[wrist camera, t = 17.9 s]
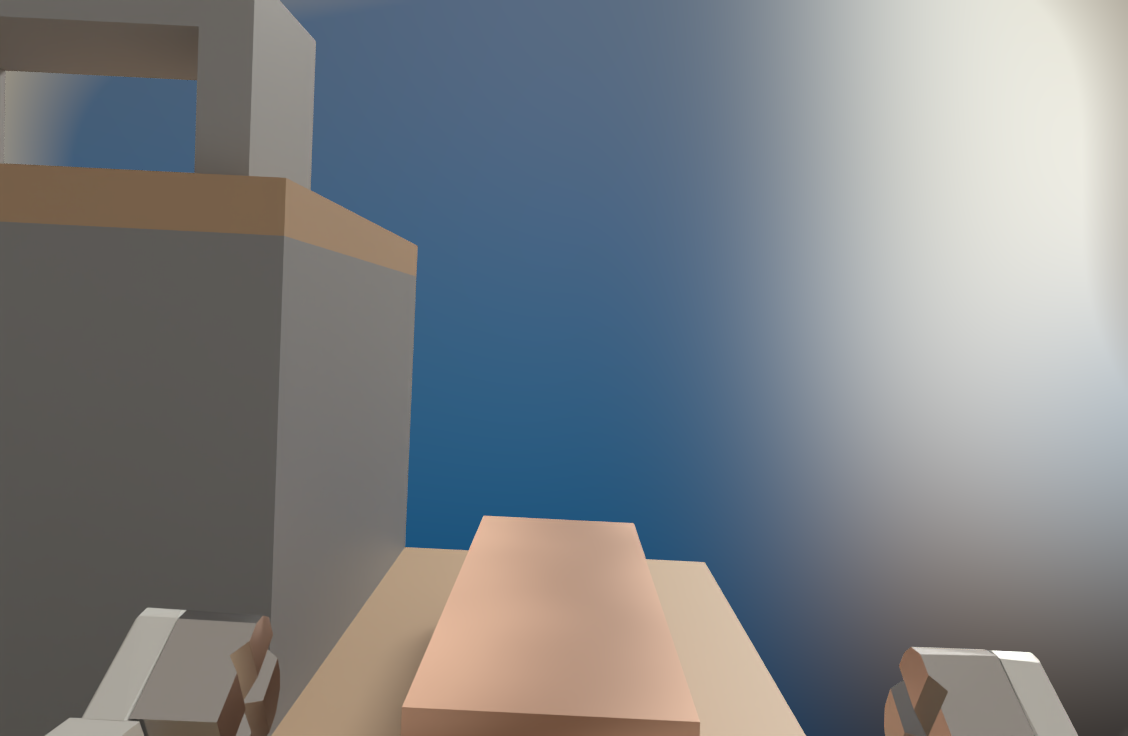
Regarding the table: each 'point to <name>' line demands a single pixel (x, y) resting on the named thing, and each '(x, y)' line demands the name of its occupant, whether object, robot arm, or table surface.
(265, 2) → the plant stand
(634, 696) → the terracotta bar
